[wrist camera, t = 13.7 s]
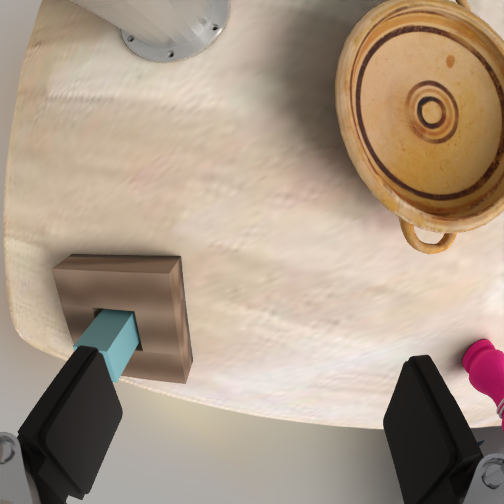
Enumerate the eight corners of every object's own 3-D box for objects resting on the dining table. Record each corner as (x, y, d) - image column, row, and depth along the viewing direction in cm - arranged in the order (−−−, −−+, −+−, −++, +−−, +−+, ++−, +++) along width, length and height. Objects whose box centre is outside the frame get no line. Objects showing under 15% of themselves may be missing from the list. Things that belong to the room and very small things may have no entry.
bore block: (71, 254, 39) (52, 268, 35) (180, 256, 38) (169, 273, 34) (96, 349, 45) (82, 368, 40) (193, 360, 44) (185, 383, 40)
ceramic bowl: (479, 243, 36) (512, 266, 28) (308, 224, 36) (318, 249, 29) (497, 34, 25) (532, 24, 17) (325, -21, 26) (337, -53, 18)
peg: (111, 298, 40) (73, 346, 30) (141, 300, 40) (106, 351, 30) (118, 325, 42) (84, 376, 31) (146, 328, 41) (117, 382, 31)
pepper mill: (452, 362, 43) (504, 452, 24) (482, 329, 40) (546, 413, 22) (470, 375, 44) (518, 457, 25) (498, 346, 42) (555, 422, 23)
